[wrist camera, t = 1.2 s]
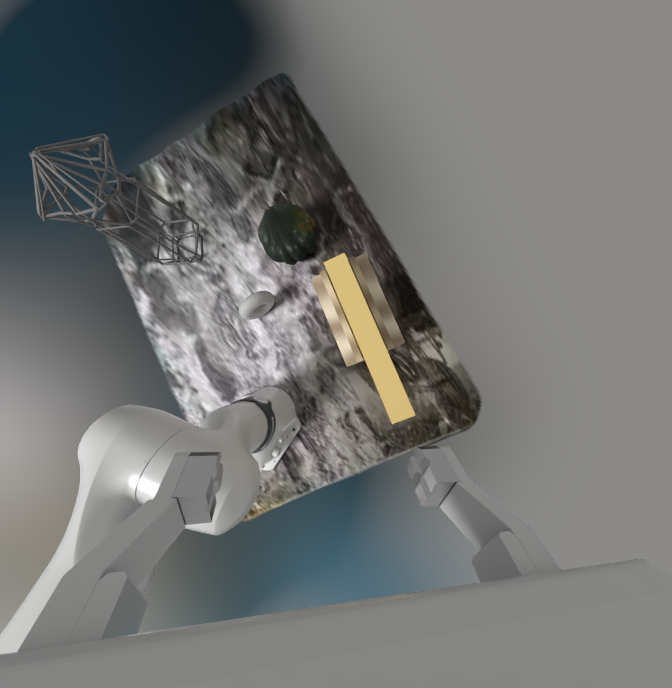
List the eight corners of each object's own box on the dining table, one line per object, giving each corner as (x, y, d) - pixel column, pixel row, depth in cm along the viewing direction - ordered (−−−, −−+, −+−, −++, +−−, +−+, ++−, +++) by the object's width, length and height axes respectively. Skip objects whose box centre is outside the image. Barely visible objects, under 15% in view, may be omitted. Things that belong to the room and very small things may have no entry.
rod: (411, 410, 38) (415, 415, 35) (390, 418, 38) (392, 424, 35) (347, 261, 41) (344, 252, 38) (327, 270, 41) (323, 262, 38)
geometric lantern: (167, 276, 76) (-7, 204, 42) (168, 227, 78) (2, 118, 43) (213, 271, 74) (68, 190, 39) (214, 221, 75) (74, 100, 41)
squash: (316, 271, 63) (301, 207, 53) (262, 275, 66) (238, 215, 56) (324, 246, 73) (313, 189, 63) (277, 251, 76) (259, 197, 66)
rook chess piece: (329, 296, 68) (323, 288, 60) (313, 297, 69) (305, 289, 61) (329, 280, 68) (323, 270, 60) (313, 281, 69) (305, 271, 61)
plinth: (393, 348, 64) (406, 342, 38) (357, 363, 66) (346, 367, 39) (368, 293, 66) (365, 250, 40) (334, 309, 67) (308, 277, 41)
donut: (255, 324, 71) (235, 319, 61) (248, 315, 71) (228, 308, 61) (282, 303, 70) (267, 294, 60) (275, 293, 70) (259, 283, 61)
